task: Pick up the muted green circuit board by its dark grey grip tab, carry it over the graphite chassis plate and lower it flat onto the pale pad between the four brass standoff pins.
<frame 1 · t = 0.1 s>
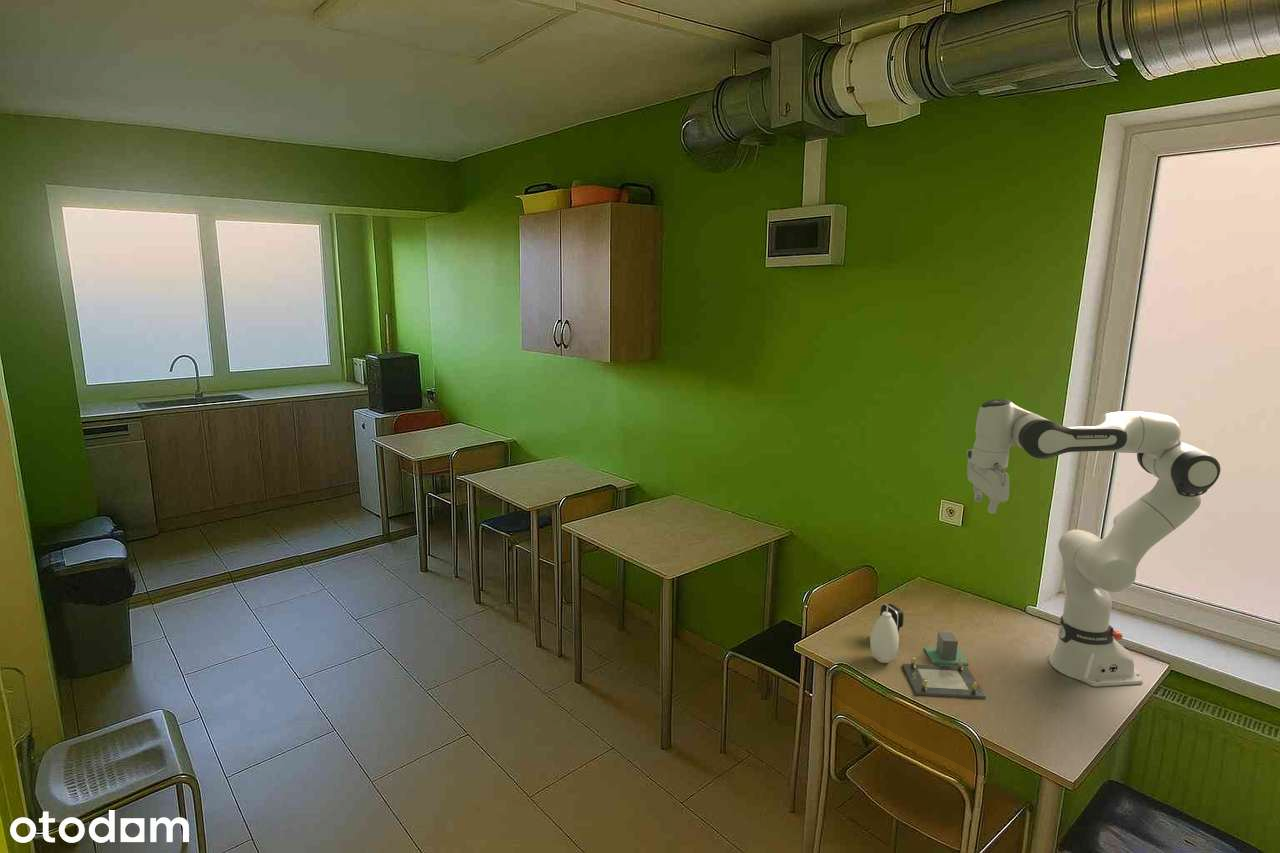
hand: (984, 506, 192), 48 cm above the table, fingers open, 8 cm apart
battery charger: (890, 641, 215), on the table
chassis: (942, 681, 194), on the table
board: (945, 658, 206), on the table
white air blower bulb: (882, 661, 204), on the table
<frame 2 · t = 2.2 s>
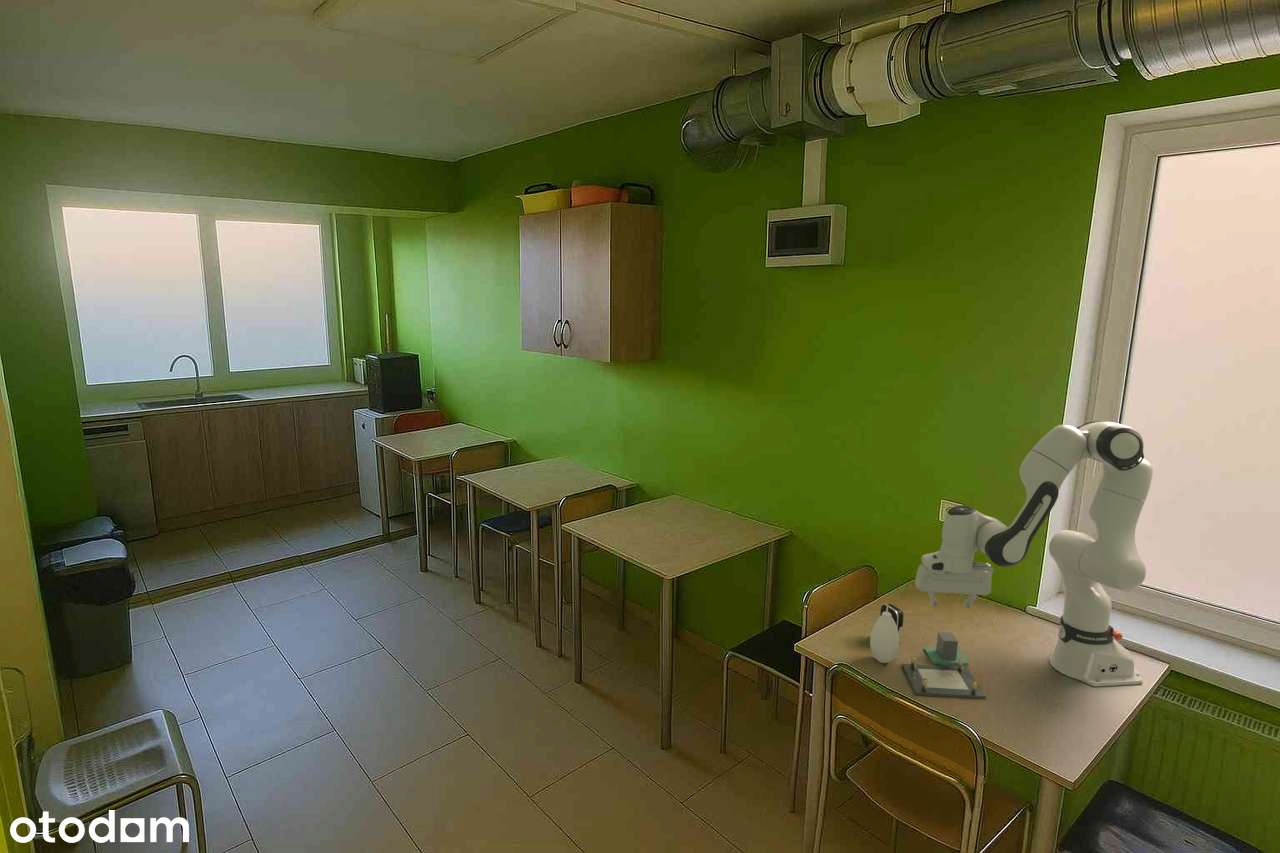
hand: (950, 605, 202), 17 cm above the table, fingers open, 8 cm apart
nothing on the table moved.
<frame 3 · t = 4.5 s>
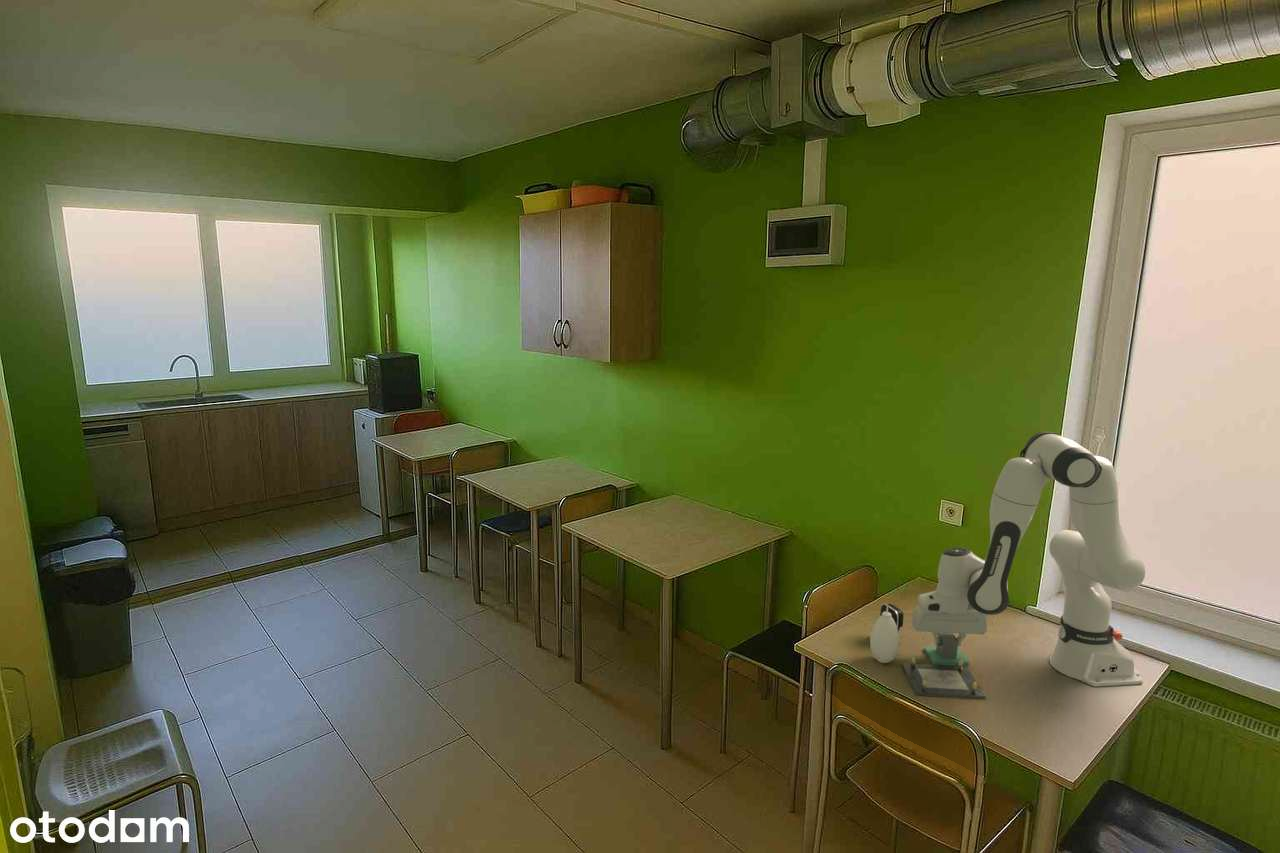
hand: (947, 644, 205), 4 cm above the table, fingers closed on board, 4 cm apart
board: (945, 657, 206), on the table, touching gripper
everything else where it was.
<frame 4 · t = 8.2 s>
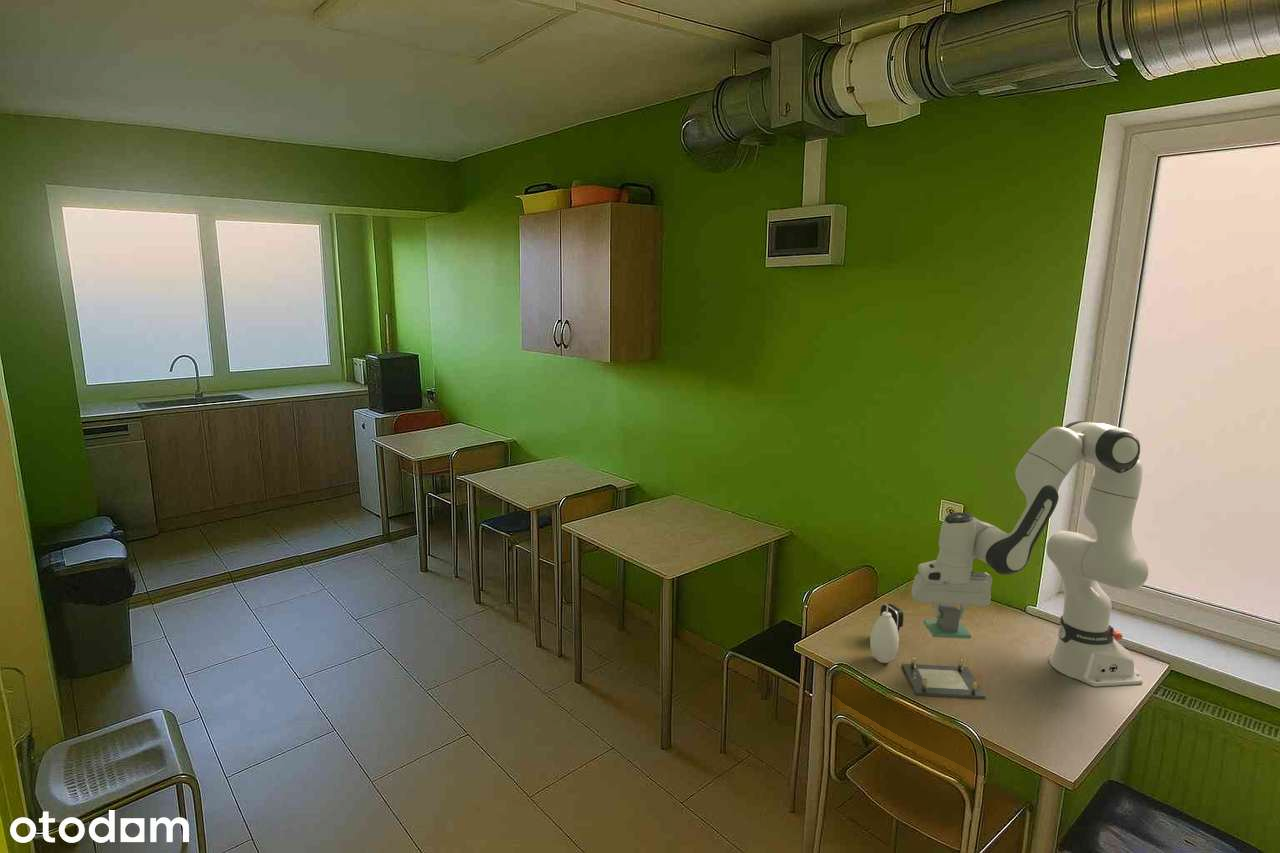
hand: (948, 617, 194), 17 cm above the table, fingers closed on board, 4 cm apart
board: (946, 630, 195), point 13 cm above the table, touching gripper
everything else where it was.
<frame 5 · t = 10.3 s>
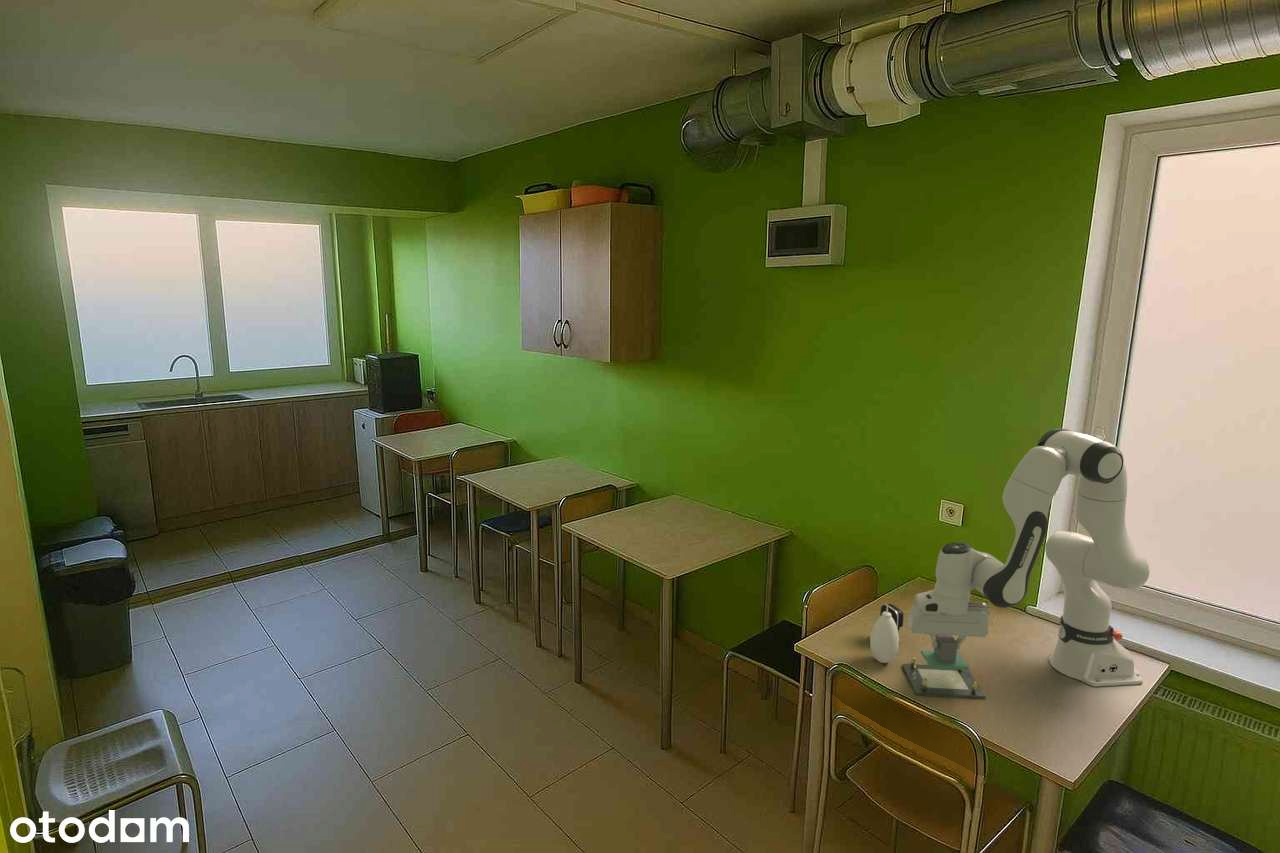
hand: (945, 647, 191), 11 cm above the table, fingers closed on board, 4 cm apart
board: (944, 661, 192), point 6 cm above the table, touching gripper
everything else where it was.
when the fingers open (6 cm above the table, at t = 12.0 s): board drops 1 cm, resting on chassis.
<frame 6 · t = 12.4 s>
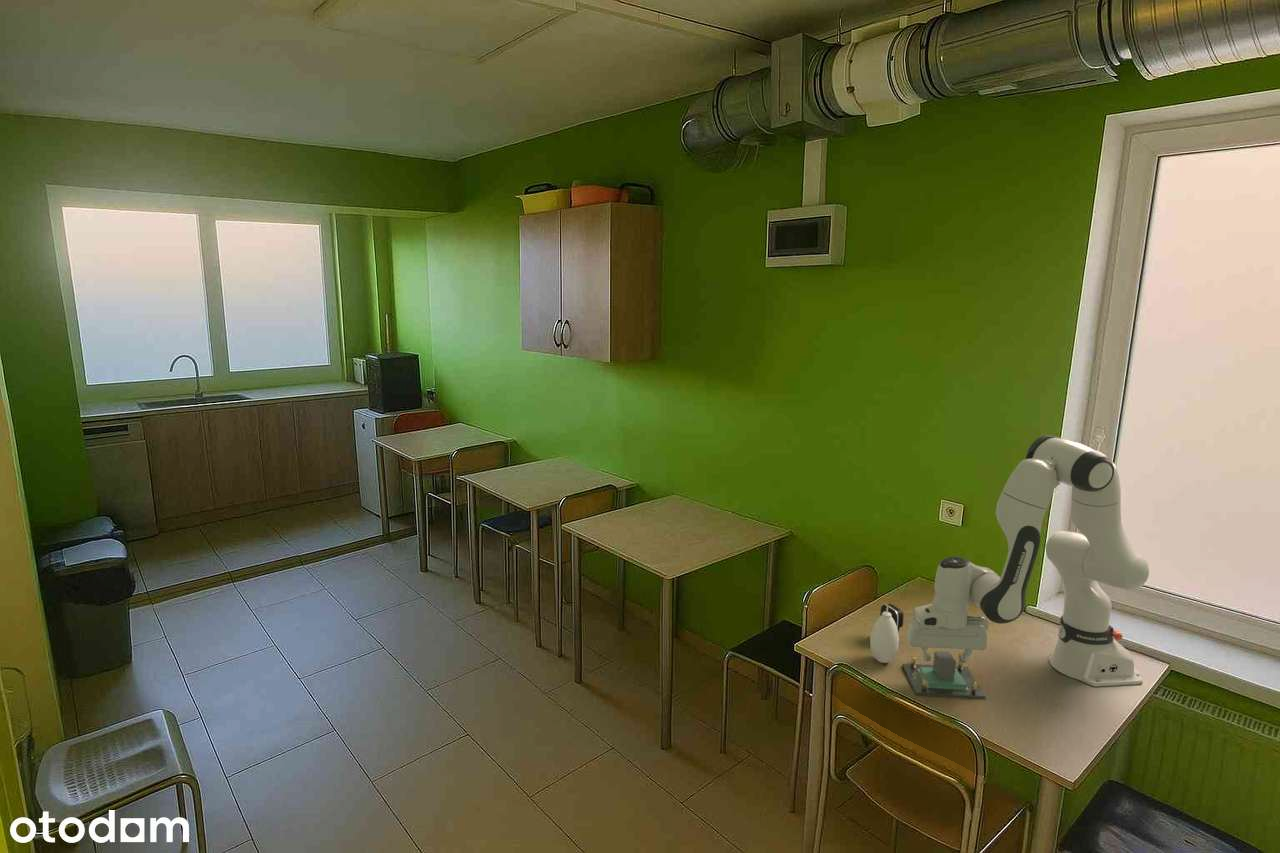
hand: (944, 660, 192), 6 cm above the table, fingers open, 8 cm apart
board: (942, 678, 193), point 1 cm above the table, touching chassis
everything else where it was.
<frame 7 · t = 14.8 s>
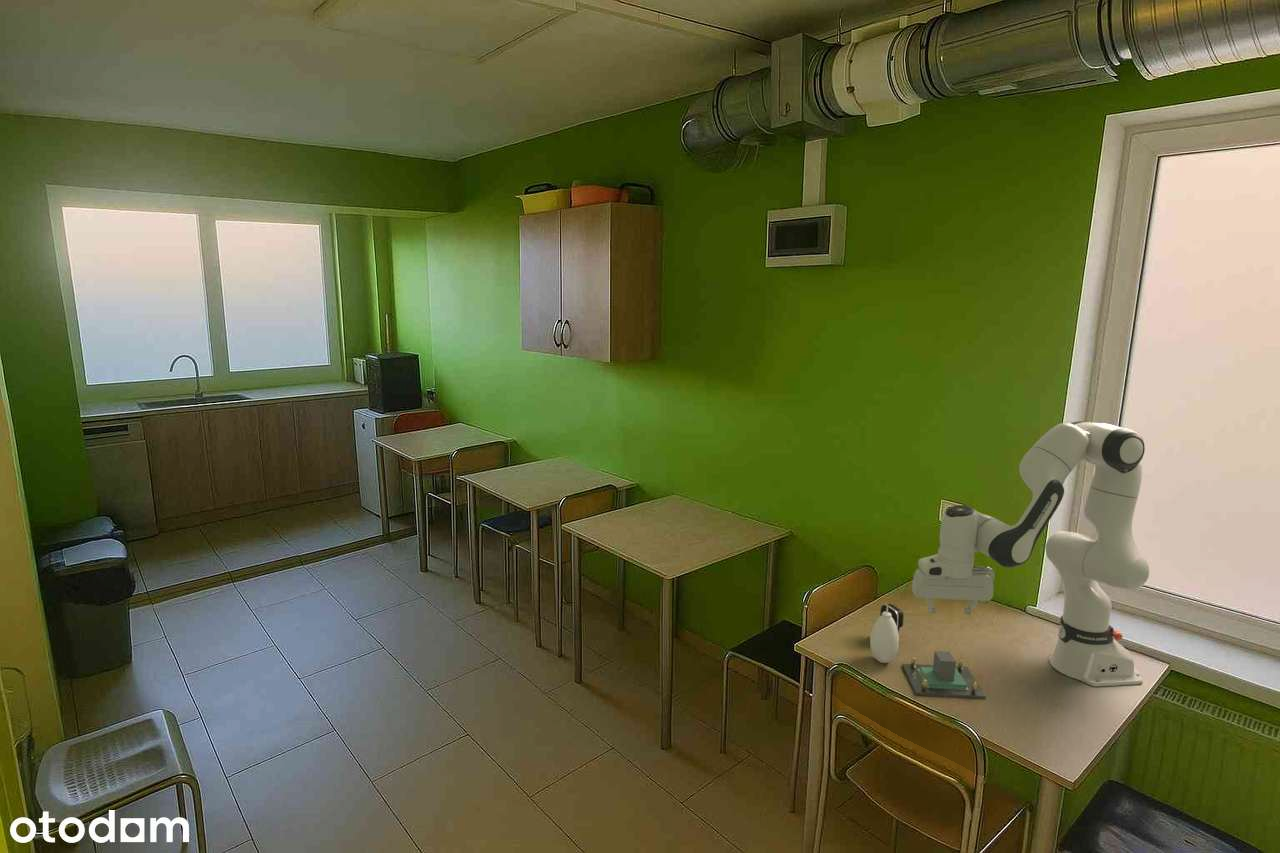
hand: (949, 612, 189), 21 cm above the table, fingers open, 8 cm apart
nothing on the table moved.
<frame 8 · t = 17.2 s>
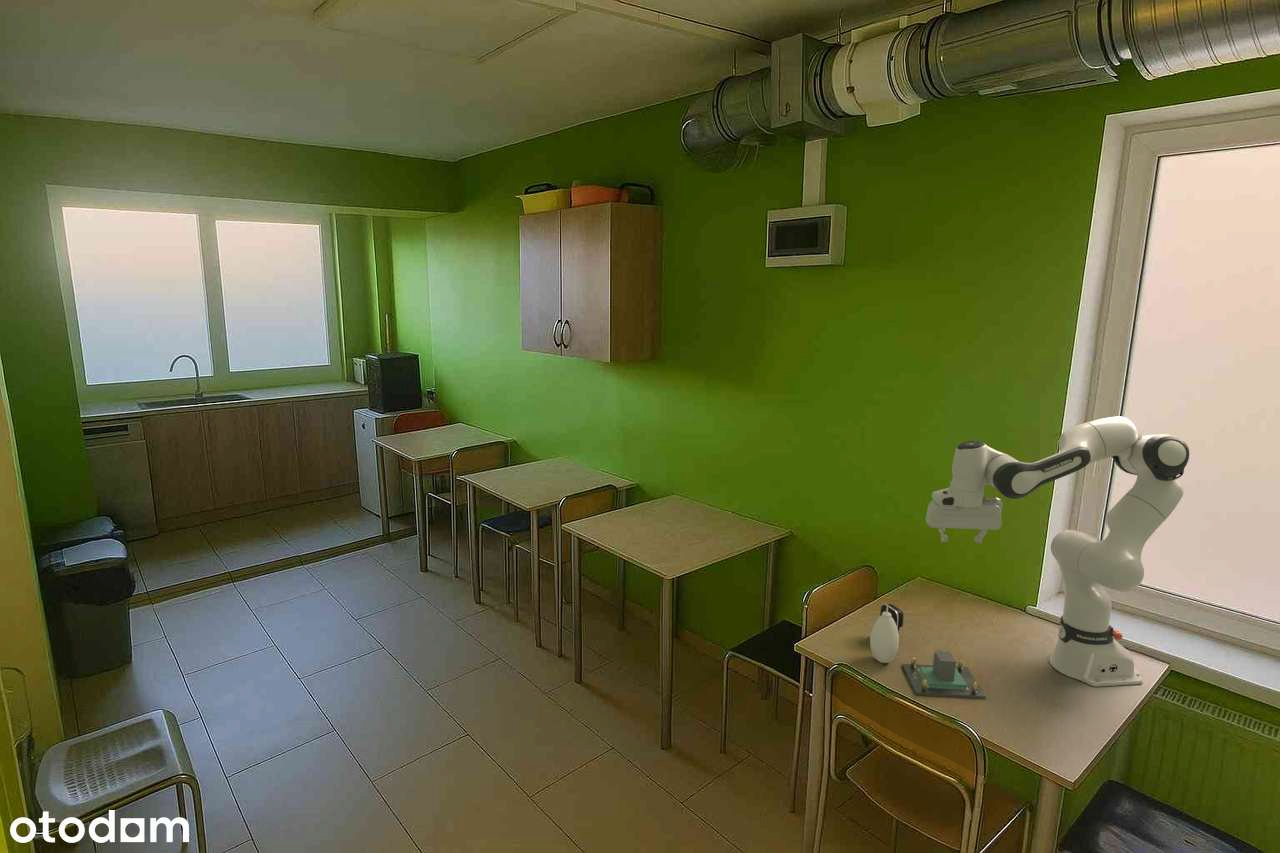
hand: (960, 541, 204), 34 cm above the table, fingers open, 8 cm apart
nothing on the table moved.
at the end: board 0.1 cm off-centre on the chassis, point 0.9 cm above the chassis's base; board tilted 0°; the gripper is holding nothing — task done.
